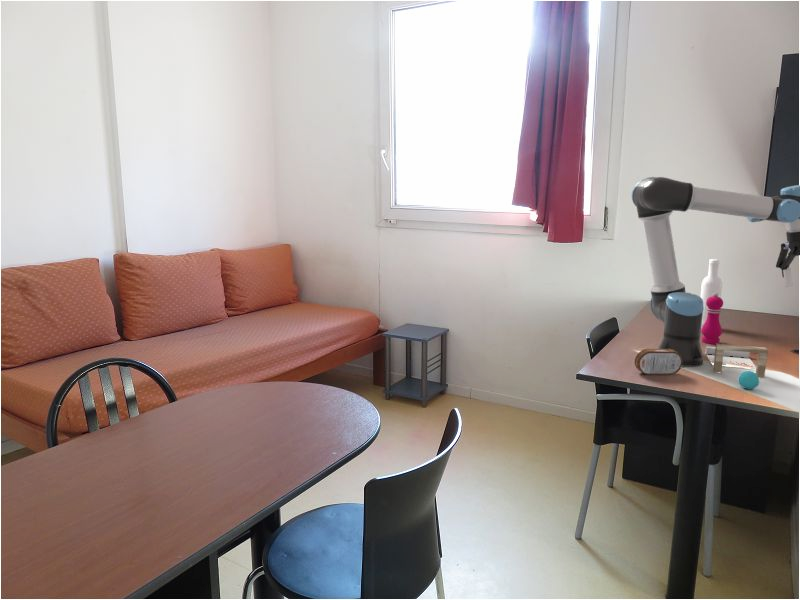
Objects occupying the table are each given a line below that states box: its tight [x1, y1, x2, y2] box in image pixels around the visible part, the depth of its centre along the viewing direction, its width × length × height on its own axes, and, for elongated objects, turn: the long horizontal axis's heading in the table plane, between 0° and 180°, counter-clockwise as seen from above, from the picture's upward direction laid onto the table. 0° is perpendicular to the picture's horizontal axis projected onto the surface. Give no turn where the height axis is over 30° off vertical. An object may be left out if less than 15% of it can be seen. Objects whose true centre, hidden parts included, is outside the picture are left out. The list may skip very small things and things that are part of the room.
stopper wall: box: [704, 345, 751, 359], centre depth 222 cm, size 14×2×2 cm, turn 70°
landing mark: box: [706, 354, 757, 370], centre depth 213 cm, size 14×14×1 cm
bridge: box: [712, 343, 769, 378], centre depth 200 cm, size 3×14×9 cm, turn 70°
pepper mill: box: [701, 292, 724, 345], centre depth 239 cm, size 7×7×20 cm
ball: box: [737, 370, 760, 390], centre depth 185 cm, size 6×6×6 cm
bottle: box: [699, 258, 723, 330], centre depth 263 cm, size 8×8×30 cm
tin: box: [634, 348, 683, 376], centre depth 199 cm, size 15×3×8 cm, turn 92°
